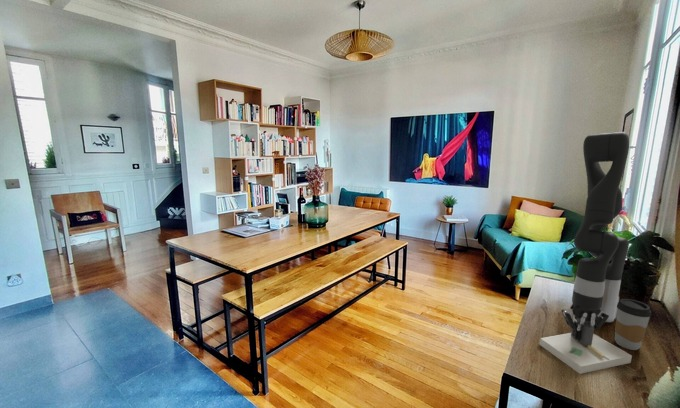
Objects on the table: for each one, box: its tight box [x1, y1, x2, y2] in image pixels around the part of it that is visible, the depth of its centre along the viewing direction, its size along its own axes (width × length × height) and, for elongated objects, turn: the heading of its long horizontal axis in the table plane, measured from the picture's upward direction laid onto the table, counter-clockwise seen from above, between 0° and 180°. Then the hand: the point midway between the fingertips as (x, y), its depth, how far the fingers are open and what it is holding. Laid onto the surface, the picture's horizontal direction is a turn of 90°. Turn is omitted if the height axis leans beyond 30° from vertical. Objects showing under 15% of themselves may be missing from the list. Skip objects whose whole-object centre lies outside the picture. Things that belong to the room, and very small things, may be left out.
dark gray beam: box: [570, 322, 605, 358], centre depth 98 cm, size 2×11×7 cm, turn 4°
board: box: [539, 332, 633, 375], centre depth 99 cm, size 20×14×3 cm
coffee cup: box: [614, 298, 652, 351], centre depth 102 cm, size 8×8×15 cm
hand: (580, 339), depth 101 cm, fingers closed on dark gray beam, 2 cm apart
